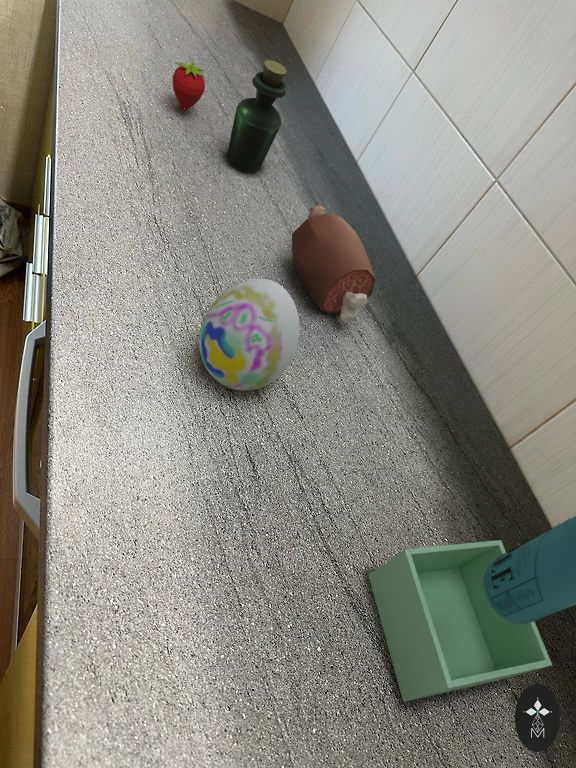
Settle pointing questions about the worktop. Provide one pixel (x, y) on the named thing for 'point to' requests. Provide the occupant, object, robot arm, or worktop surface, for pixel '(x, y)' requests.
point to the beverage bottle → (535, 576)
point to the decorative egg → (250, 335)
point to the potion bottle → (257, 120)
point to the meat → (332, 264)
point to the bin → (449, 621)
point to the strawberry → (188, 85)
